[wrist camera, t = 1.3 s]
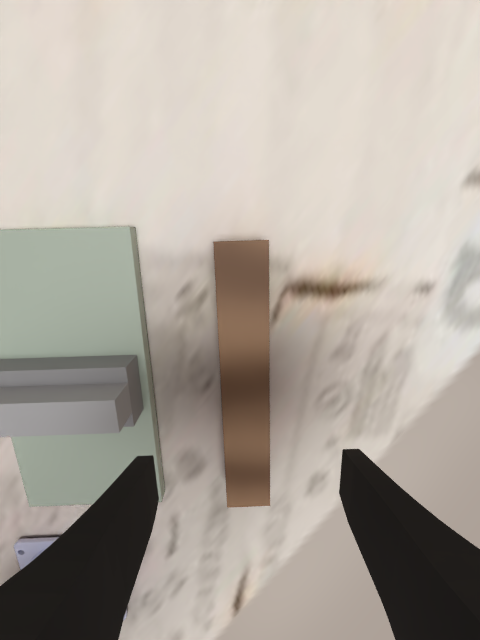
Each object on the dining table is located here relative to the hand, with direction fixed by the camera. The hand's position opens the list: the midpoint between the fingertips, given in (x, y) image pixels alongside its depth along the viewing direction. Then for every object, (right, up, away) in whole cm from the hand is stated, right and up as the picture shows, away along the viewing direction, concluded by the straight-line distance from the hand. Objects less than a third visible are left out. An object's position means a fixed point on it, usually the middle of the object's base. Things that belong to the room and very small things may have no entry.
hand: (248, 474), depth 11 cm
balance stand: (-12, +2, +9) cm, 15 cm away
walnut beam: (0, +2, +10) cm, 10 cm away
